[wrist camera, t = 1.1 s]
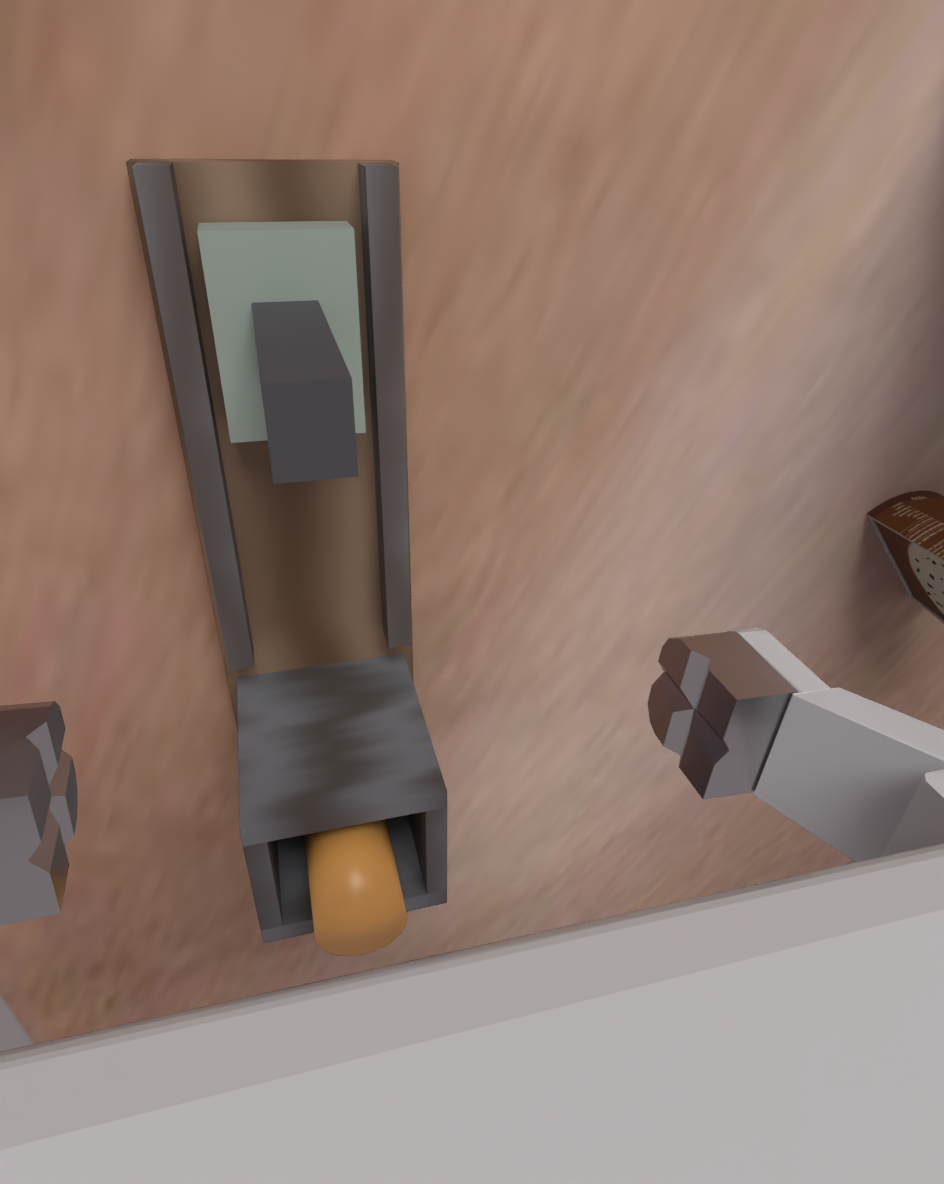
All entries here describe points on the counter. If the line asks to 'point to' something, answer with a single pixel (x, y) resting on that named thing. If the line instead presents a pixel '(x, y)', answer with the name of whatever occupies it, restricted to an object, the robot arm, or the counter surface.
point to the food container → (915, 544)
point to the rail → (304, 543)
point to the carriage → (288, 341)
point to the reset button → (354, 889)
